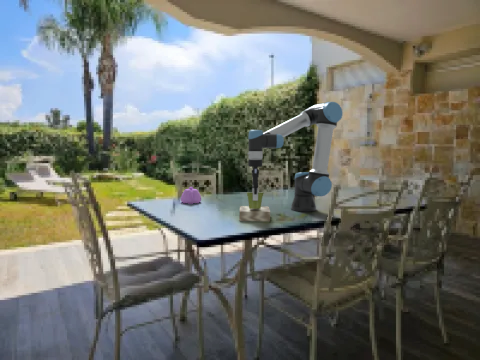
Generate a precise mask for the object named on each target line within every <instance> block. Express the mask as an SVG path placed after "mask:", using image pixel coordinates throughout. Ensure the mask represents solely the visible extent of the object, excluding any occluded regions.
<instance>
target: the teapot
mask: <svg viewBox="0 0 480 360" xmlns="http://www.w3.org/2000/svg"><path fill="white" fill-rule="evenodd" d="M180 201H181V202H183V203H182V204H185V203H188V204H187V205H194V204H193V203H197V204H199V202H200V203H201V202H202V195H201V193H200V192H199V190H198V189H196V188H194V187H193V186H189V187H188V188H186V189H184V190H183V192H182V194H181V197H180Z"/></svg>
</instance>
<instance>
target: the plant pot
mask: <svg viewBox="0 0 480 360" xmlns="http://www.w3.org/2000/svg"><path fill="white" fill-rule="evenodd" d="M264 194H265V193H264V192H262V191H261V192H259V191H258V201H253V192H250V191H249V192H246V195H247V199H248V200H247V201H248V206H249V209H261V206H262V203H263V202H262V201H263V197H264Z"/></svg>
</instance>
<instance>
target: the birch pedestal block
mask: <svg viewBox="0 0 480 360" xmlns="http://www.w3.org/2000/svg"><path fill="white" fill-rule="evenodd" d="M238 216H239V220H238V221H240V222H271V210H270V207H269V206H263V205H261V209H249V205H239V215H238Z"/></svg>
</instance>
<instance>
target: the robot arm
mask: <svg viewBox="0 0 480 360" xmlns="http://www.w3.org/2000/svg"><path fill="white" fill-rule="evenodd" d="M343 113H344V112H343V109H342V107H341V105H340V103H338V102H336V101H326V102H321V103H316V104H314V105H312V106H310V107H308V108H306V109H305V110H303V111H301V112H300V113H299V114H298V115H297V116H294V117H292V118H290V119H289V120H286V121H285V122H283V123H280V124H279V125H277V126H275V127H273V128H270V129H269V130H266V131H264V130H262V129H250V130H249V131H248V137H247V138H248V139H247V140H248V152H247V153H246V154H247V155H248V161H247V163H248V164H247V166H248V167H250V168H251V167H252V169H251V178H252V183H251V184H252V186H251V191H252V192H253V201H258V192H259V178H260V177H259V176H260V175H259V174H260V170H259V169H258V168H259V167H260V168H261V167H263V153H264V152H263V151H264V149H281V148H282V147H283V146H284V141H285V139H284V138H285V137H287V136H289V135H290V134H292V133H295V132H297V131H300V129H302V128H304V127H307V128H308V127H310V126H311V125H315V126H316V127H317V134H316V141H315V146H314V147H315V148H314V155H313V162H312V168H311V169H310V170H309V171H307V172H304V171H303V172H296V173H295V175H294V196H293V200H292V203H291V204H290V205H291V206H290V209H291V211H296V212H314V211H316V210H317V204H316V202H315V199H314V196H315V197H325V196H326V195H329V193H330V192H331V190H332V186H333V183H332V181H331V178H330V173H329V171H328V167H329V161H330V154H331V148H332V141H333V135H334V129H336V128H337V126H338V123H339V121H340V120H341V119H342V118H343ZM263 131H264V132H263Z"/></svg>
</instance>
